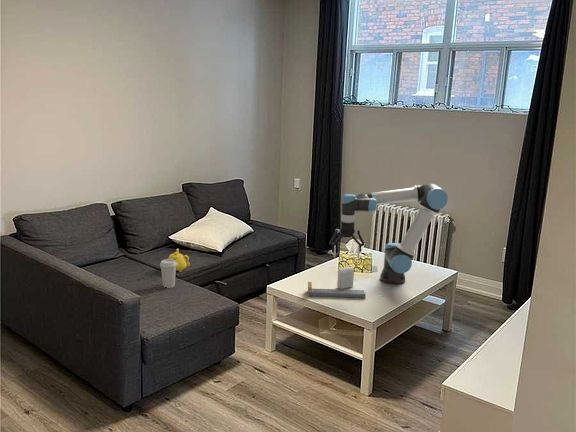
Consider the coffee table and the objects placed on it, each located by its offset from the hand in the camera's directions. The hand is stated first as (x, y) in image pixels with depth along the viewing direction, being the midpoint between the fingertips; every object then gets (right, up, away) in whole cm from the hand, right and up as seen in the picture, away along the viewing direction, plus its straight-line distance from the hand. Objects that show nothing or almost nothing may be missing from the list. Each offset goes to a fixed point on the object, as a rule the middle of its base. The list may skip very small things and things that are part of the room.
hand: (346, 256), depth 320 cm
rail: (-7, -21, -8) cm, 23 cm away
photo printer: (0, -18, +4) cm, 19 cm away
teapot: (-103, -10, +26) cm, 106 cm away
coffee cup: (-102, -17, -1) cm, 104 cm away
